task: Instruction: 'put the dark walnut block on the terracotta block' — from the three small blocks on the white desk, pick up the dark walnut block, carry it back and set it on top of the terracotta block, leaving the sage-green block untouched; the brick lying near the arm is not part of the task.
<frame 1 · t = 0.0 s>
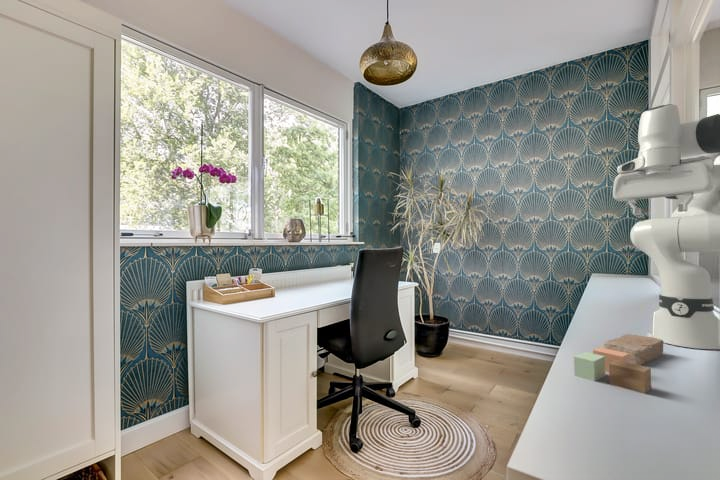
hand: (658, 213, 90), 39 cm above the table, fingers open, 8 cm apart
sage block: (589, 375, 77), on the table
walnut block: (630, 387, 70), on the table
brick: (633, 358, 90), on the table
terracotta block: (611, 370, 80), on the table
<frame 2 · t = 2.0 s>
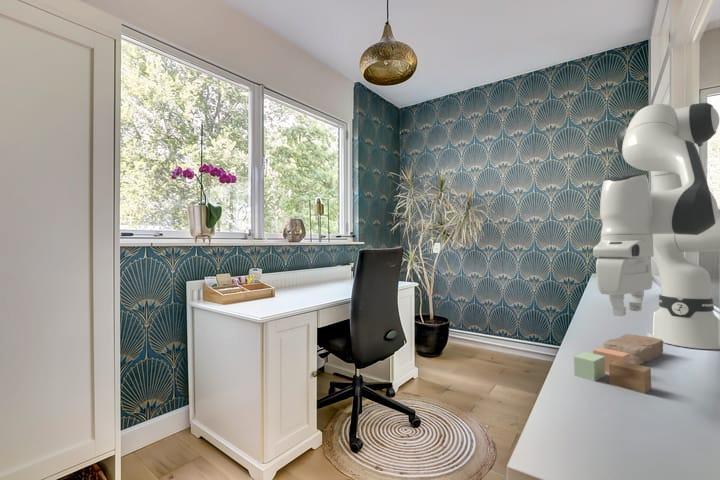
hand: (627, 313, 71), 16 cm above the table, fingers open, 8 cm apart
nothing on the table moved.
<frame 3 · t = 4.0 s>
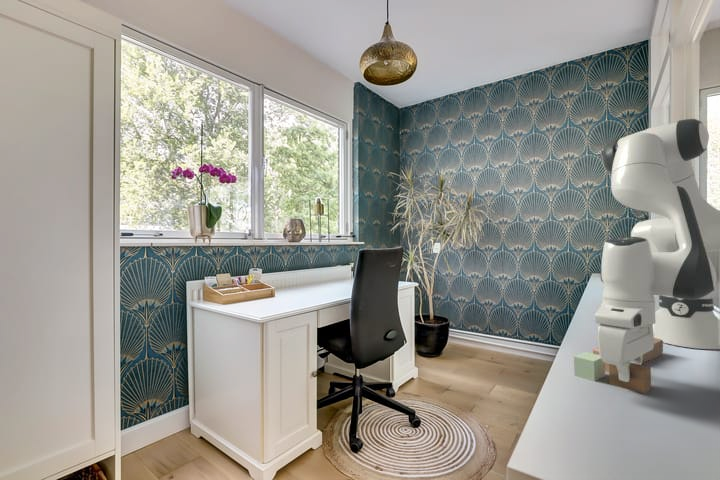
hand: (629, 377, 70), 2 cm above the table, fingers closed on walnut block, 4 cm apart
walnut block: (630, 386, 70), on the table, touching gripper
everything else where it was.
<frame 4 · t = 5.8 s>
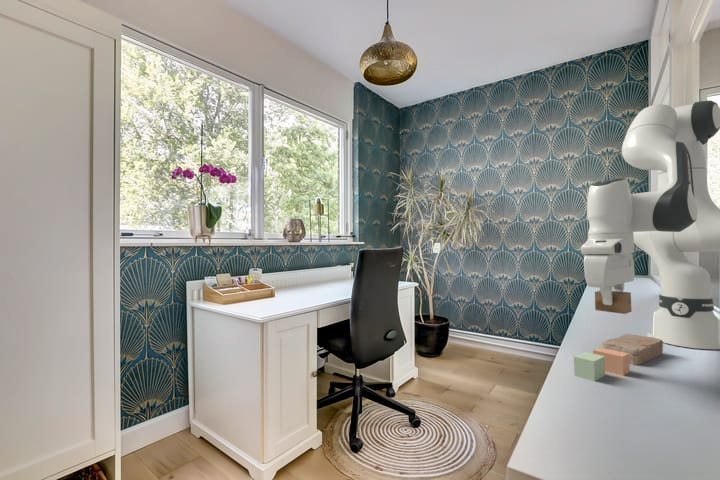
hand: (612, 303, 80), 16 cm above the table, fingers closed on walnut block, 4 cm apart
walnut block: (613, 310, 80), point 14 cm above the table, touching gripper
everything else where it was.
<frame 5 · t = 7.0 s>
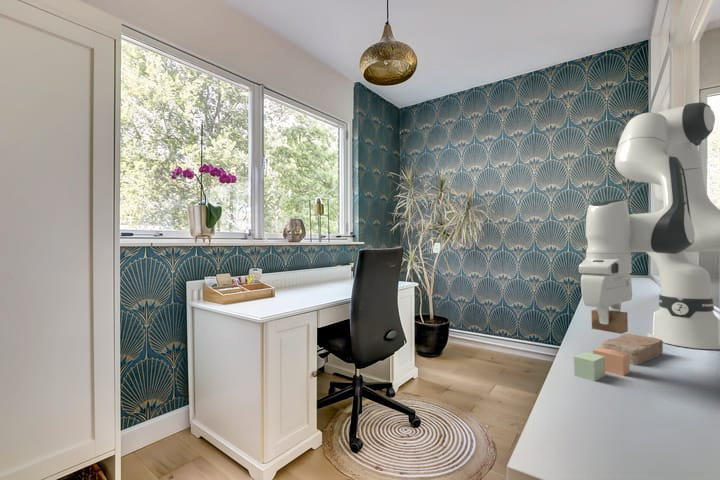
hand: (609, 322, 80), 11 cm above the table, fingers closed on walnut block, 4 cm apart
walnut block: (609, 330, 80), point 10 cm above the table, touching gripper
everything else where it was.
when the fingers open (8 cm above the table, at t = 8.0 s): walnut block drops 2 cm, resting on terracotta block.
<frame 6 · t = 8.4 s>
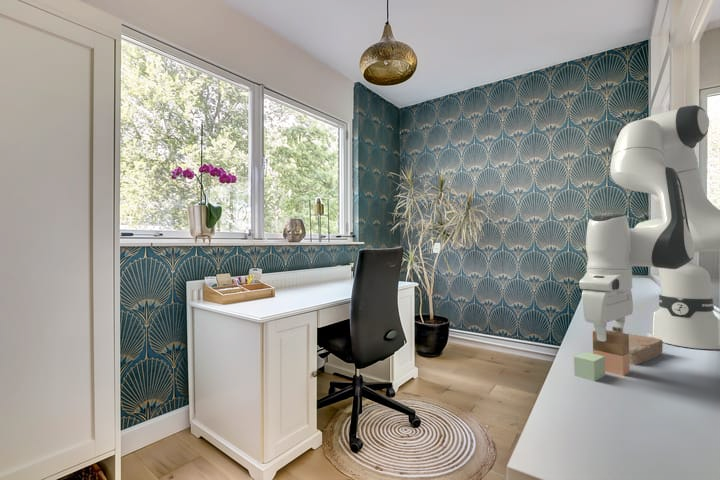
hand: (610, 337, 80), 8 cm above the table, fingers open, 8 cm apart
walnut block: (610, 351, 80), point 4 cm above the table, touching terracotta block
terracotta block: (611, 370, 80), on the table, touching walnut block
everything else where it was.
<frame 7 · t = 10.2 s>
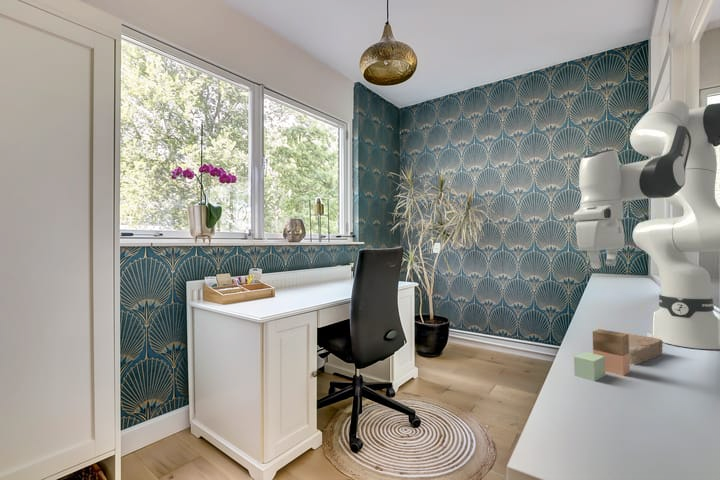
hand: (603, 267, 85), 25 cm above the table, fingers open, 8 cm apart
nothing on the table moved.
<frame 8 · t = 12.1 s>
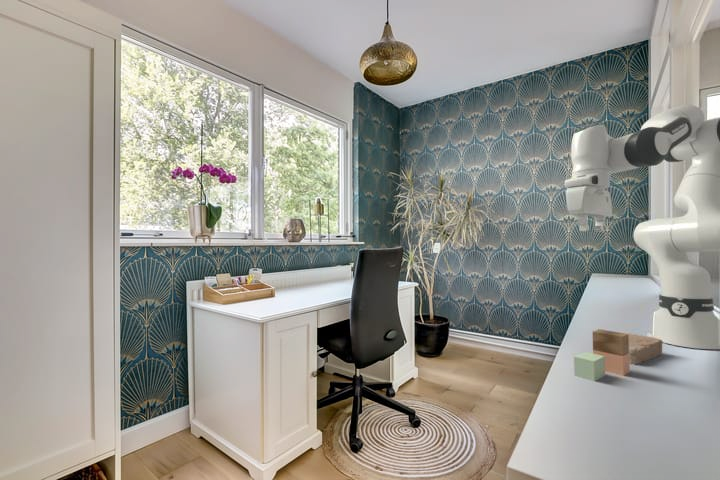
hand: (591, 231, 93), 34 cm above the table, fingers open, 8 cm apart
nothing on the table moved.
at the end: walnut block inside the target area on the terracotta block (0.1 cm from its centre), point 4.5 cm above the terracotta block's base; walnut block tilted 0°; sage block moved 0.2 cm from its start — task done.
